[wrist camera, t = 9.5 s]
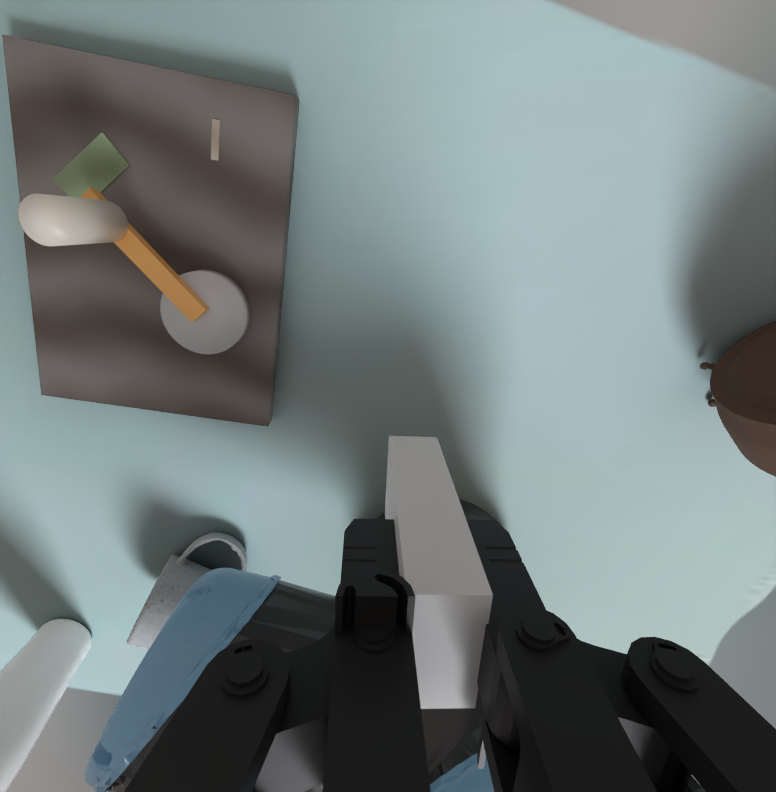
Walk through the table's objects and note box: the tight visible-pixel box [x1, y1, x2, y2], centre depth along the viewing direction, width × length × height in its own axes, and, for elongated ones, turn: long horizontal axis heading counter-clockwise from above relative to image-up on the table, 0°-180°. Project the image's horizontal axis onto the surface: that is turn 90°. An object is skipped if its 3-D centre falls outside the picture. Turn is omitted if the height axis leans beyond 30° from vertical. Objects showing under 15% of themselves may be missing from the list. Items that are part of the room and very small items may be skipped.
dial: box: [18, 188, 250, 354], centre depth 29 cm, size 13×6×8 cm, turn 38°
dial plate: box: [2, 35, 299, 426], centre depth 33 cm, size 24×18×2 cm
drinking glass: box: [0, 619, 92, 792], centre depth 40 cm, size 7×7×15 cm
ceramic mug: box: [127, 532, 247, 649], centre depth 41 cm, size 11×8×8 cm
